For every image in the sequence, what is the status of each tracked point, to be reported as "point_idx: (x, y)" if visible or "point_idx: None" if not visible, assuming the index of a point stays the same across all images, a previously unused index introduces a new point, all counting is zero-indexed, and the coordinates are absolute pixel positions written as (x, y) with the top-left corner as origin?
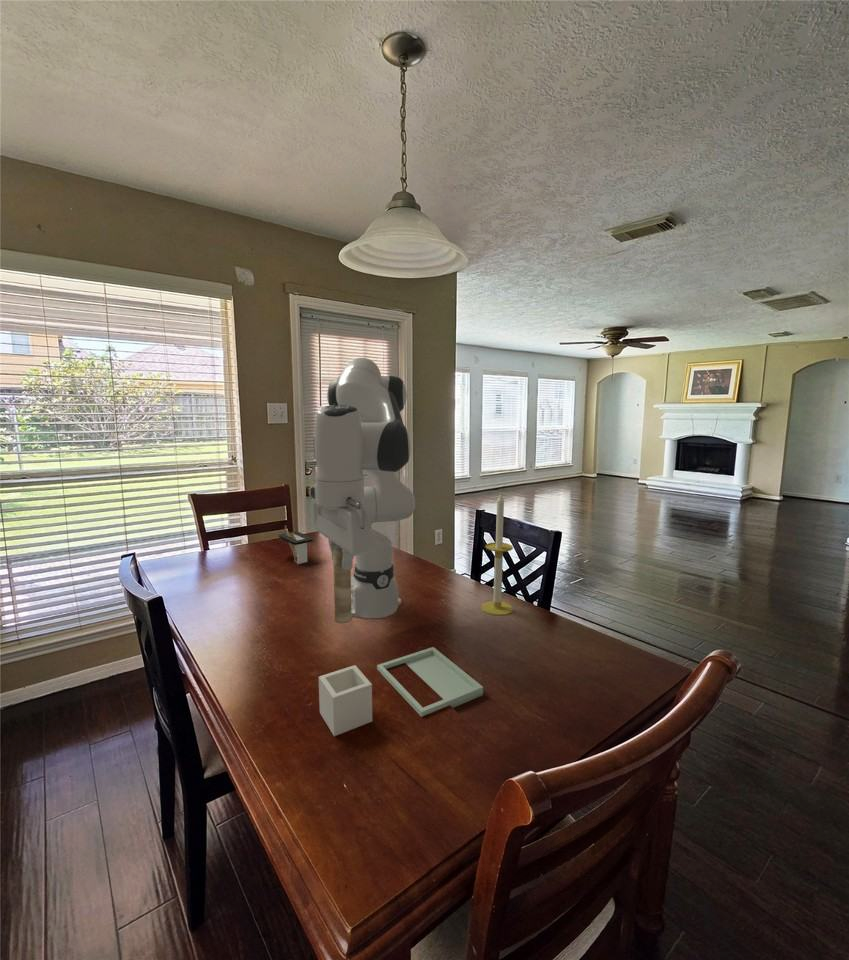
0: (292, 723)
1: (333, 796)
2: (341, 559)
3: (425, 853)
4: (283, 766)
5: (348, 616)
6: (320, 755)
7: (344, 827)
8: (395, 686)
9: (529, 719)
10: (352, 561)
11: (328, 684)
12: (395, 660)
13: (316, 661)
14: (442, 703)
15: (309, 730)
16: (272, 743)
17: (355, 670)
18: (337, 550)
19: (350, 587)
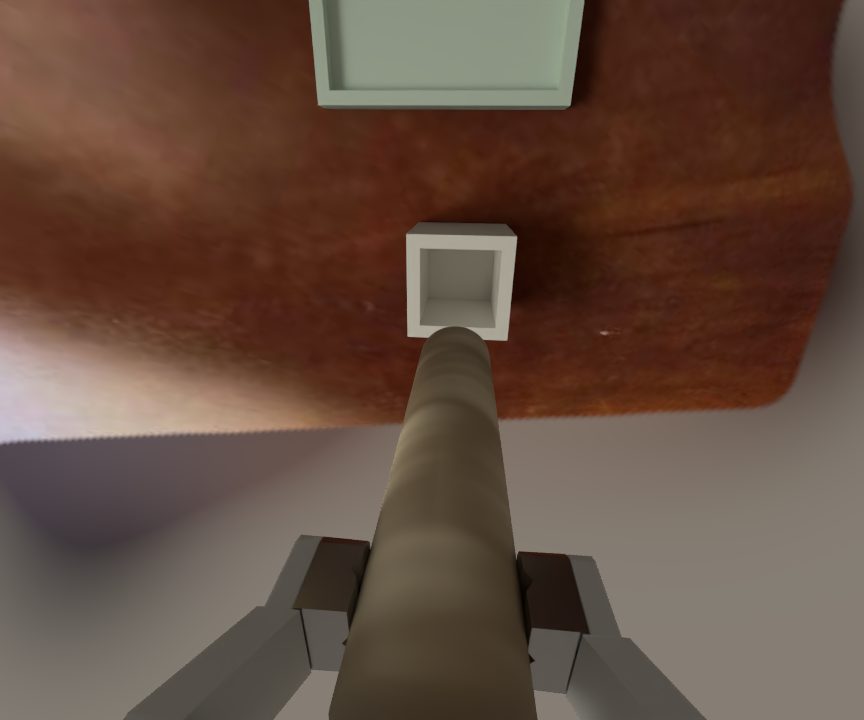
0: (409, 352)
1: (610, 355)
2: (536, 687)
3: (804, 288)
4: (502, 394)
5: (489, 360)
6: (516, 340)
7: (670, 364)
8: (431, 106)
9: None
10: (612, 613)
11: None
12: (318, 32)
13: (212, 235)
14: (581, 21)
15: None
16: None
17: (432, 245)
18: None
19: (485, 413)
